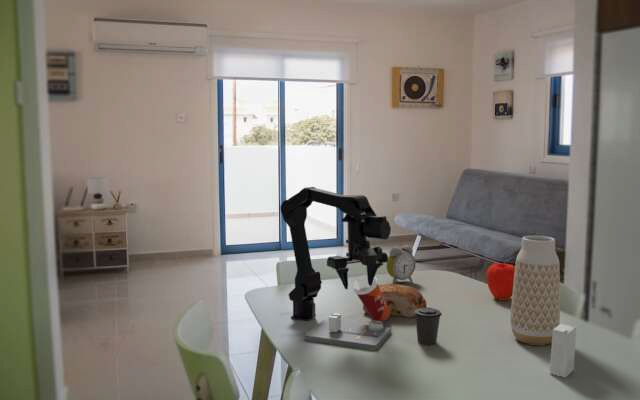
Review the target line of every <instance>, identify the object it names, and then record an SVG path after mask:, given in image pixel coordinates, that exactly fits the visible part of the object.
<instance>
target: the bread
mask: <svg viewBox="0 0 640 400" xmlns="http://www.w3.org/2000/svg"><path fill="white" fill-rule="evenodd" d="M379 287H380V290H381V292H382V295H383V297H384V299H385V302H386V304H387V307H388V309H389V312H390V314H389V317H391V316H392V317H394V316H395V317H401V318H416V317H415V314H414V311H415V310H416V309H419V308H428V306H427V301H426V299H425V298H424V295H423V294H422V293H421V292H420V290H418V289H417V288H415V287H413V286H410V285H409V286H408V285H404V284H398V283H395V284H392V283H386V284H381V285H379ZM362 310H363V312H365V314H369V313H368V311H367V309H366V308H365V306H364V305H363V304H362Z"/></svg>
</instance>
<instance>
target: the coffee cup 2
mask: <svg viewBox="0 0 640 400" xmlns="http://www.w3.org/2000/svg"><path fill="white" fill-rule="evenodd" d="M414 314H415V317H414V318H415V326H416V327H415V328H416V336H417V337H416V339H417V343H418V344H419V345H421V346H428V347H429V346H435V345H436V344H437V341H438V332H439V327H440V320H441V319H440V318H441V316H442V312H441V310H439V309H437V308H434V307H433V308H432V307H427V308H419V309H416V310H415V311H414Z"/></svg>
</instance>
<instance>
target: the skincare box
mask: <svg viewBox="0 0 640 400" xmlns="http://www.w3.org/2000/svg"><path fill="white" fill-rule="evenodd" d="M576 336H577V326H574V325H573V326H572V325H569V324H563V323H560V324H559V326H557V327H556V328H555V329H553V334H552V342H551V347H550V348H551V349H550V350H551V351H550V361H549V362H550V363H549V364H550V366H549V374H550V375H552V374H553V376H555V375H557V376H556V377H559V376H561V377H560V378H564V379H565V378H566V379H567V377H568V376H569V375H570V374H571V373H572V372H573V371H574V369H575V368H574V366H575V355H576V354H575V353H576V352H575V351H576V339H577V337H576Z"/></svg>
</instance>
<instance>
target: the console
mask: <svg viewBox="0 0 640 400" xmlns="http://www.w3.org/2000/svg"><path fill="white" fill-rule="evenodd" d="M391 333H392V328H391V327H385V326H384V321H382V322H381V321H374V320H370V321H368V324H363V323H355V322H348V321H341V329H339V330H338V331H337V332H331V331H329V319H323V320H322V321H320V322H319V323H318V324H317V325H316V326H314V327H313V328H311V329H310V330H309V331H308V332H306V333H305V334H304V341H307V342H315V343H322V344H328V345H333V346H334V345H335V346H340V347H341V346H343V347H348V348H350V347H351V348H354V349H355V348H356V349H364V350H371V351H377V350H378V349H379V348H380V346H382V344H383V343H384V341H385V340H387V338H388V337H389V336H390V335H391Z"/></svg>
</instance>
